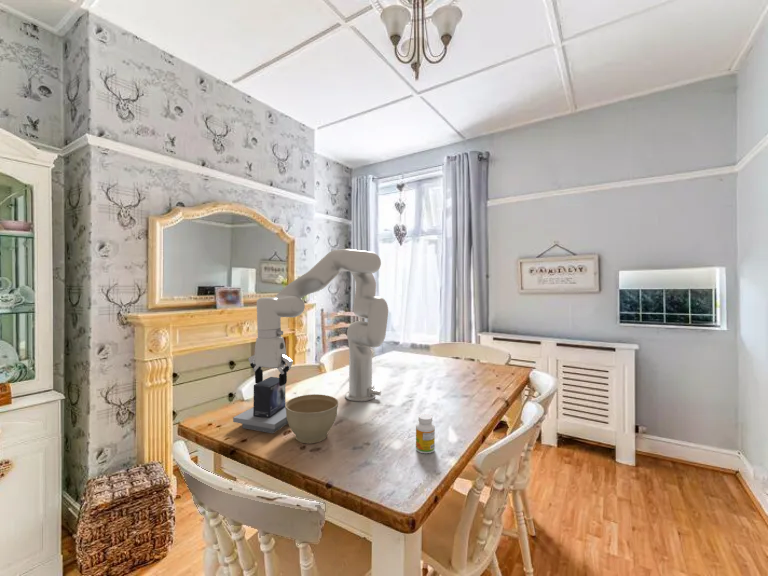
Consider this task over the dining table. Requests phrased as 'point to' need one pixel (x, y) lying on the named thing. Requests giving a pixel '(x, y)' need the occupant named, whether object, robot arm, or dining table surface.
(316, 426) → the planter bowl
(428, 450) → the supplement bottle
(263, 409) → the small box
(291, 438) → the dining table surface
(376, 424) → the dining table surface
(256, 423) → the stand
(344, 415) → the dining table surface
